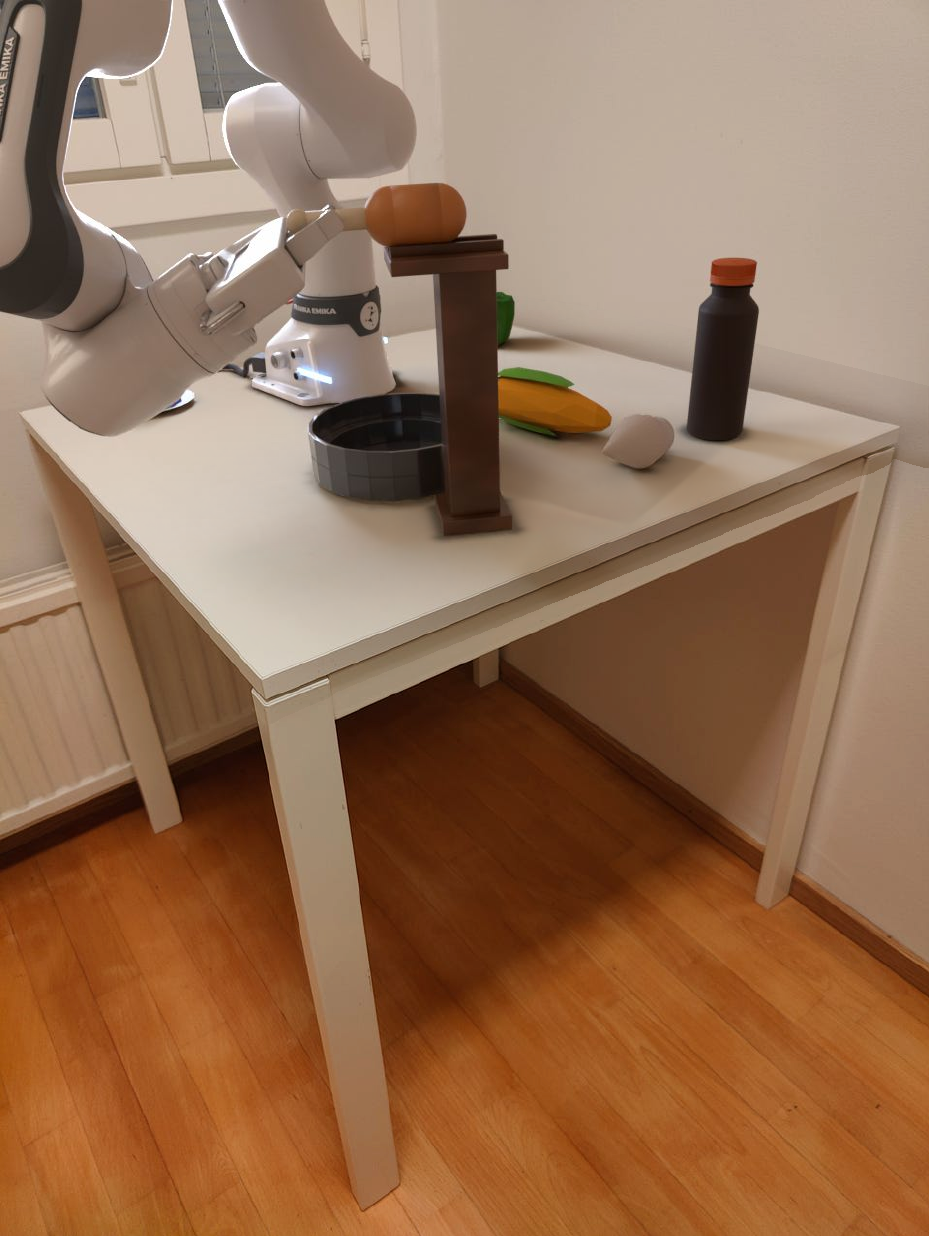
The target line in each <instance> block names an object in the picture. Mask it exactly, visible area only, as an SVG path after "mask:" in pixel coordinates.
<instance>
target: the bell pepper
mask: <svg viewBox="0 0 929 1236" xmlns="http://www.w3.org/2000/svg"><path fill="white" fill-rule="evenodd" d="M515 303H516V302H515V300H514V298H513V296H512V295H510V294H506V293H505V292H504V291H497V342H498V346H499V345H502V344H503V343H506V342H508V340H509V338H510V337H511V332H512V328H513V324H514V318H515V312H516V311H515V308H516V307H515V306H516V305H515Z"/></svg>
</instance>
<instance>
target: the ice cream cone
mask: <svg viewBox="0 0 929 1236" xmlns="http://www.w3.org/2000/svg"><path fill="white" fill-rule="evenodd" d="M674 442H675V430H674V427H673V425H672V423H671V422H670V421H669V420H668V419H666V418H664V417H662V416H658V415H657V416H653V415H650V414H641V413H634V414H630V415H628V416H626V417H624V418H623V419H622V420H621V421H620V422H619V423H618V424H617V425H616V427H615V429H614V431H613V432H612V434H611V435H610V437H609V439H608V441H607V442H606V444H605V445H604V447H603V449H602V450H601V452H600V454H601V455H603V456H606V457H608V458H610V459H612V460H615V461H616V462H618V463H621V464H623V465H625V466H627V467H629V468H631V469H639V470H641V469H646V468H648V467H650V466H652V465H654V464H655V462H656V461H658V460H659V459H660V458H662V457H663V456H664V455H665V453H667V452H669V450H670V449H671V448H672V446H673V444H674Z"/></svg>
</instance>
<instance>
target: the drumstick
mask: <svg viewBox="0 0 929 1236" xmlns="http://www.w3.org/2000/svg"><path fill="white" fill-rule="evenodd" d="M334 210H335V211H336V212H337V214H338V215H339V217H340V218H341V220H342V221H343V225H344V228H343V230H342V231H354V230H367V231H368V233H369V235H370V236H371V237H372V240H373V241H374V242H376V243H377V244H379V245H380V246H383V247H389V246H402V245H417V244H432V243H448V242H451V241H453V240H454V239H456V238H457V237H458V236H461V235H460V234H461V233H462V232H463V230H464V229H465V226H466V221H467V207H466V203H465V200H464V199H463V197H462V195H461V194H460V192H459V191H458V190H457V189H456V188H455V187H453V186H451V185H449V184H448V183H443V182H429V183H411V184H409V183H408V184H394V185H385V186H381V187H379V188H377V189H376V190H375V191H373V193H371V194H370V195H369V197H368V198H367V200H366V202H365V204H364V207H354V208H353V207H352V208H346V209H334ZM326 211H327V210H318V211H304V210H301V209H295V210H292V211H291V212H290V213H289V214H288V216H287V219H286V225H287V228H288V230H289V231H290V232H291V233H292V234H293V235H294V234H295V233H296V232H299V231H300V230H302V229H303V228H305V227H306V226H308V225H309V224H310V223H312V222H313V221H315V220H316V218H318V217H319V216H320V215H322V214H323V213H324V212H326Z"/></svg>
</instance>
